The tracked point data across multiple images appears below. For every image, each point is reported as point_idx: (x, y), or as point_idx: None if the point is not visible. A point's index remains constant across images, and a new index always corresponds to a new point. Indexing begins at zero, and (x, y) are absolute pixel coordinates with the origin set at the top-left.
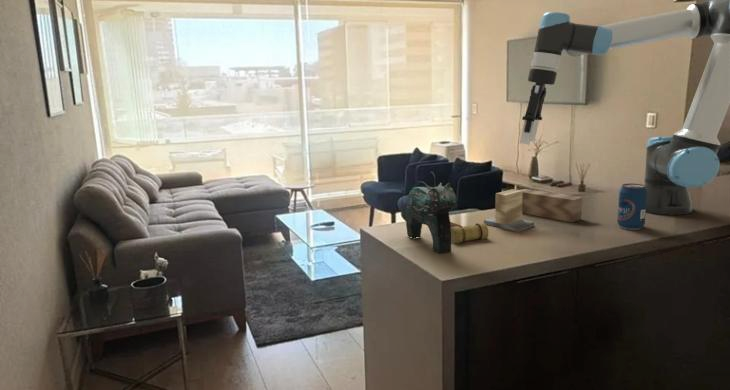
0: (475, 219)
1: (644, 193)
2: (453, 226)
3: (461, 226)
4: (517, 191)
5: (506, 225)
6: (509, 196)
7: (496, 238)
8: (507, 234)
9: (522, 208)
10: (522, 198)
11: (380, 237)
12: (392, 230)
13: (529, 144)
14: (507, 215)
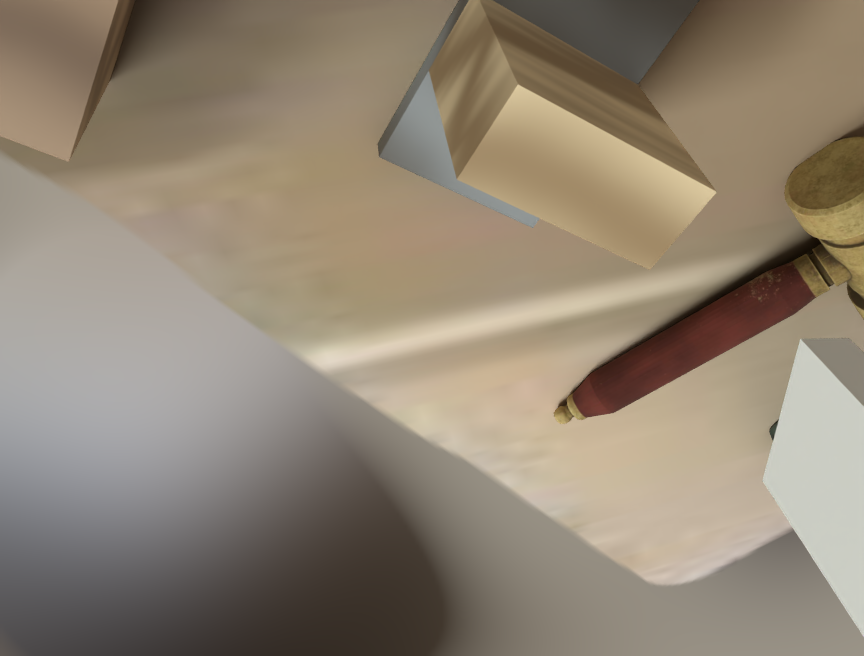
0: (428, 276)
1: None
2: (761, 331)
3: (801, 296)
4: (556, 123)
5: (644, 73)
6: (669, 159)
7: (842, 86)
8: (758, 36)
9: (122, 32)
10: (102, 69)
11: None
12: (691, 515)
13: (806, 339)
14: (637, 99)
